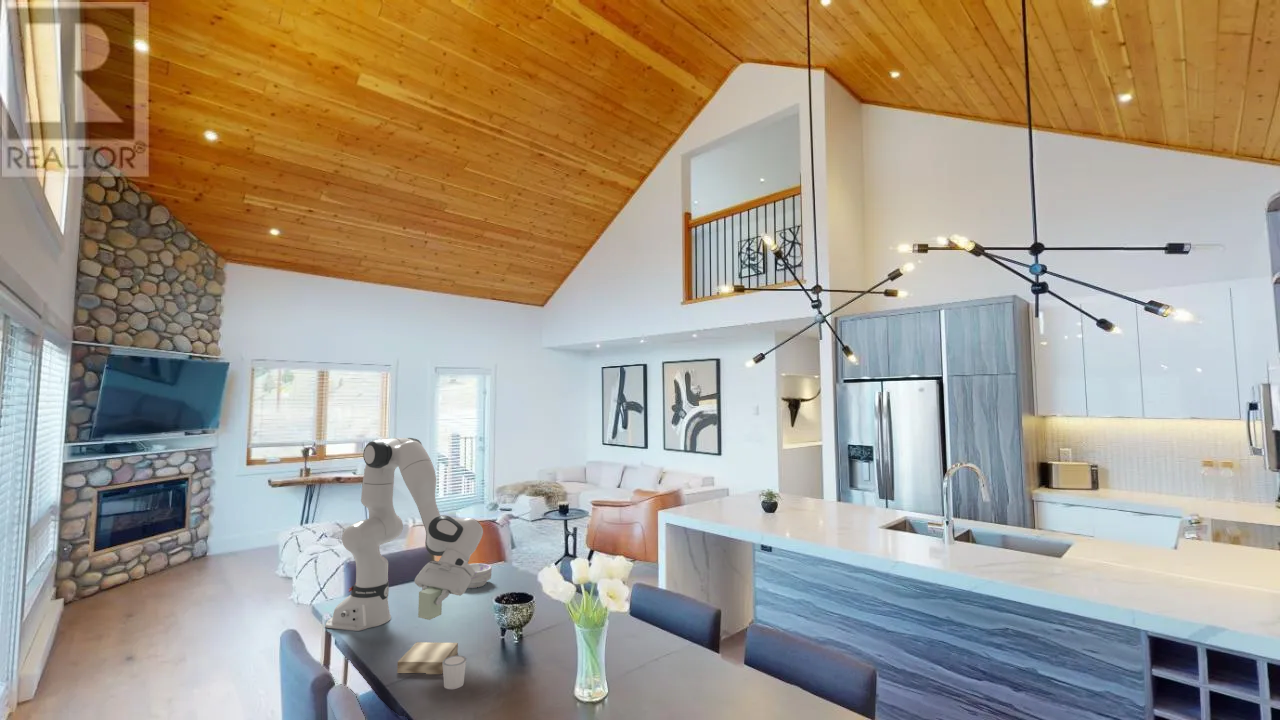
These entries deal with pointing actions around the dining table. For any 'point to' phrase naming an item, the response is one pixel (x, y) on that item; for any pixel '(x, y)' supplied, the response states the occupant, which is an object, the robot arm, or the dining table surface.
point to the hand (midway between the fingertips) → (428, 602)
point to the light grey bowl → (480, 575)
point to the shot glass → (454, 671)
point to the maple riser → (426, 657)
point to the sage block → (429, 603)
